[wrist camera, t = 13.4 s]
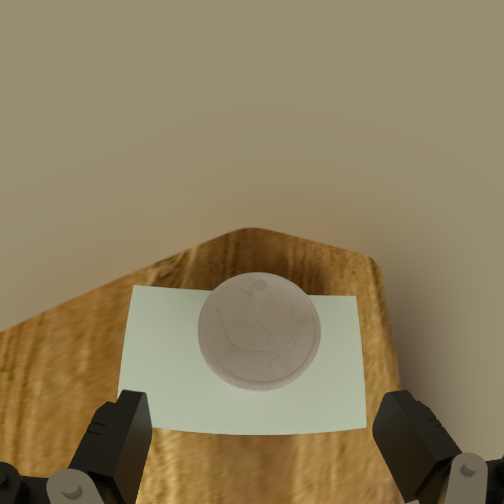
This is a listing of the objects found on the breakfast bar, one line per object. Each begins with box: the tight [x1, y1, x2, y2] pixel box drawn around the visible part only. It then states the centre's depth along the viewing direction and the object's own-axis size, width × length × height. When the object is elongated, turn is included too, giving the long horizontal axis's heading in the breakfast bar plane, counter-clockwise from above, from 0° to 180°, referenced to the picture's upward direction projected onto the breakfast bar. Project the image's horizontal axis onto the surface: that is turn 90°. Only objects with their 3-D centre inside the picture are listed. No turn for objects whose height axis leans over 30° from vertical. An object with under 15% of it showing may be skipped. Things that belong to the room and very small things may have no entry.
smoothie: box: [198, 272, 321, 392], centre depth 17 cm, size 6×6×14 cm
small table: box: [117, 285, 366, 435], centre depth 26 cm, size 20×12×7 cm, turn 89°
